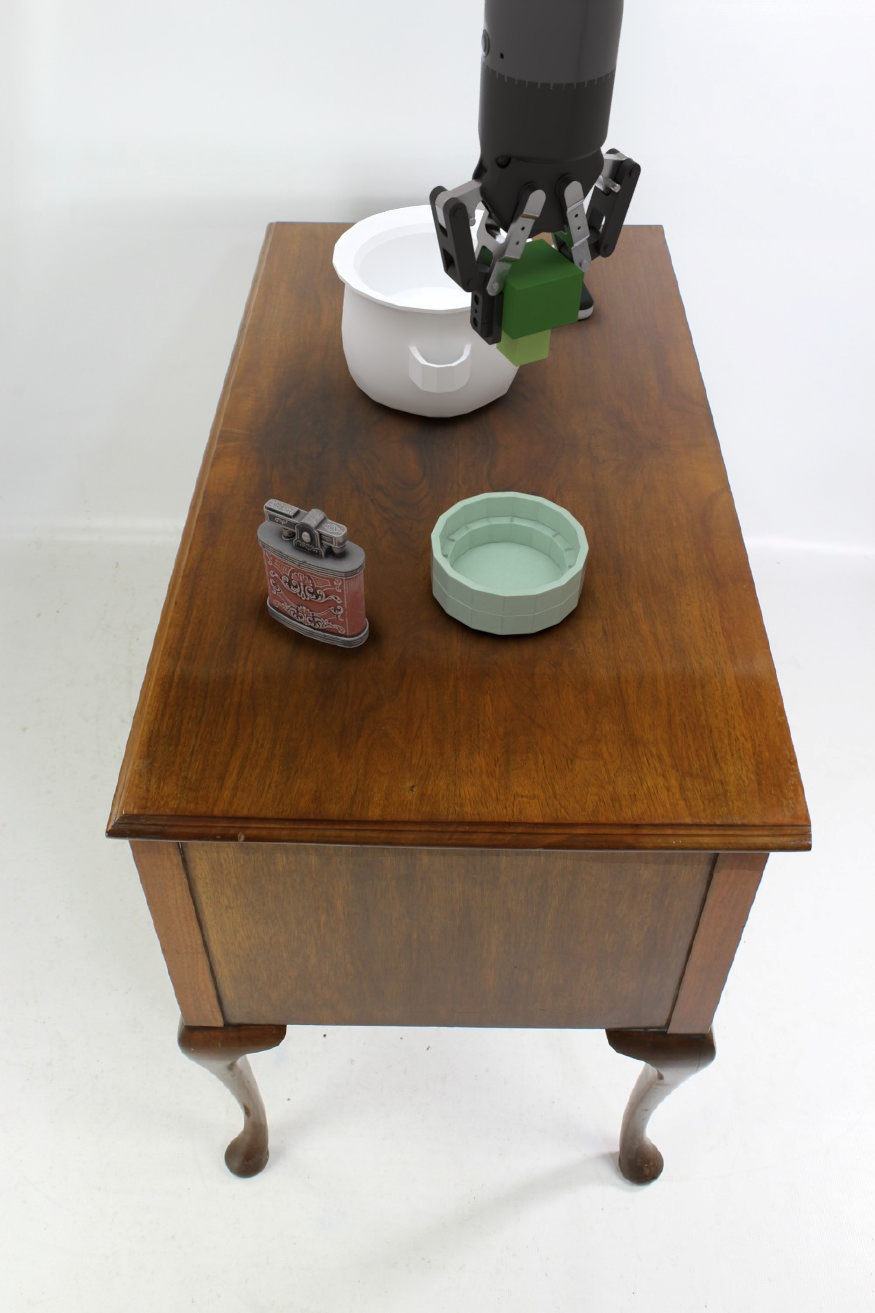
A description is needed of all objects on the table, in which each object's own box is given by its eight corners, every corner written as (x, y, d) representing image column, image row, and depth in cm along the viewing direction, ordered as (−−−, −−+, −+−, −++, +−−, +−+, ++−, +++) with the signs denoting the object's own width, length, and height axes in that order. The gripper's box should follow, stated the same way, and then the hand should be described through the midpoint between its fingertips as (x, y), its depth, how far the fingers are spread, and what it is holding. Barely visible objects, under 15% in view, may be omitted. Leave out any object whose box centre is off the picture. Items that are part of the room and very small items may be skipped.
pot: (347, 315, 106) (340, 193, 97) (520, 317, 106) (530, 195, 97) (334, 450, 91) (325, 320, 82) (536, 451, 91) (549, 322, 82)
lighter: (377, 625, 77) (373, 518, 70) (353, 655, 75) (346, 549, 68) (284, 587, 80) (271, 481, 72) (258, 616, 78) (242, 509, 70)
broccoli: (533, 326, 75) (542, 237, 70) (572, 361, 72) (584, 271, 67) (472, 343, 73) (476, 253, 69) (509, 380, 70) (516, 289, 66)
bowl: (531, 520, 85) (536, 475, 82) (609, 609, 79) (618, 564, 75) (405, 563, 82) (405, 518, 78) (476, 660, 75) (479, 615, 72)
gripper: (469, 96, 54) (457, 384, 67) (695, 54, 59) (644, 330, 72) (402, 48, 59) (403, 327, 71) (618, 12, 63) (583, 279, 76)
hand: (524, 327), depth 71 cm, fingers closed on broccoli, 5 cm apart
